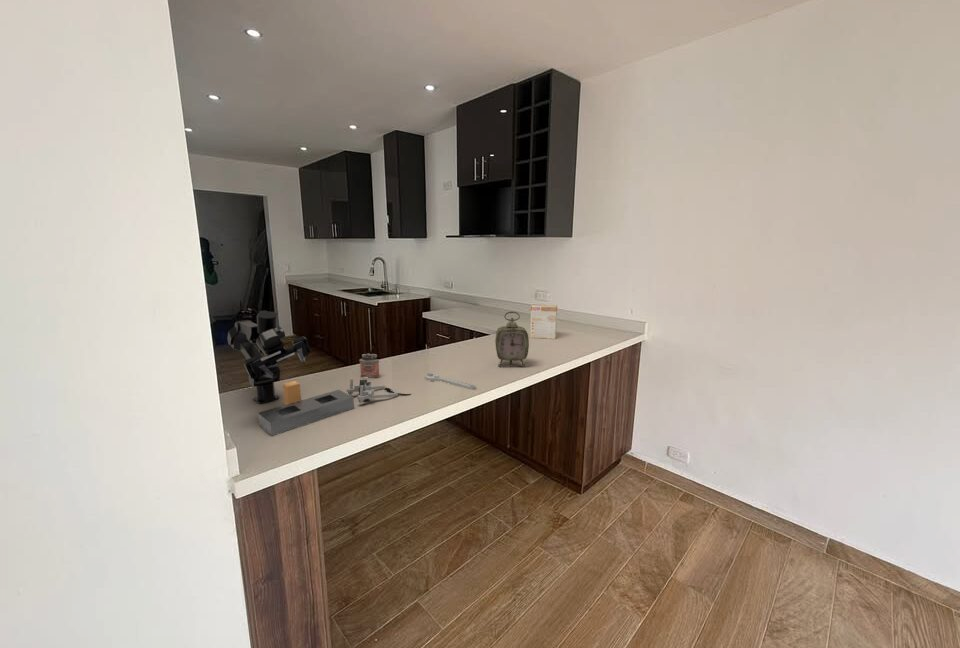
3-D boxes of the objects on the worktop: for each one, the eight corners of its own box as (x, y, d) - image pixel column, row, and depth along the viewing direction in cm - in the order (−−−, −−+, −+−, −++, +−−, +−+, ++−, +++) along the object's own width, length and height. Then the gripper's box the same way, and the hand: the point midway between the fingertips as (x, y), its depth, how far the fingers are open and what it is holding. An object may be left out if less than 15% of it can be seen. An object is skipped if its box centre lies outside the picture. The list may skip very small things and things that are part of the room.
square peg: (284, 406, 131) (282, 383, 129) (296, 402, 134) (294, 380, 132) (289, 409, 128) (287, 386, 127) (301, 405, 131) (299, 383, 129)
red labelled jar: (359, 378, 159) (357, 354, 157) (362, 375, 162) (361, 352, 160) (377, 378, 158) (376, 355, 156) (380, 376, 161) (379, 353, 159)
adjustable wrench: (477, 389, 148) (477, 385, 148) (466, 394, 143) (466, 389, 143) (432, 375, 163) (432, 371, 163) (421, 379, 158) (420, 375, 158)
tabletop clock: (495, 368, 172) (496, 313, 167) (494, 362, 181) (495, 309, 176) (528, 368, 172) (529, 313, 167) (525, 362, 181) (526, 309, 176)
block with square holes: (259, 425, 117) (257, 412, 116) (339, 400, 136) (338, 389, 135) (271, 435, 110) (270, 422, 109) (354, 408, 129) (353, 397, 128)
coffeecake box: (556, 336, 232) (557, 304, 229) (555, 339, 226) (556, 306, 222) (531, 335, 237) (532, 303, 233) (529, 337, 230) (530, 305, 226)
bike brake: (358, 406, 129) (411, 400, 141) (360, 386, 128) (413, 382, 141) (344, 395, 139) (394, 390, 152) (345, 376, 138) (396, 374, 151)
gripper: (229, 338, 115) (246, 363, 106) (291, 314, 126) (312, 335, 116) (243, 366, 122) (260, 392, 112) (301, 341, 132) (321, 363, 123)
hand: (289, 369), depth 116 cm, fingers open, 9 cm apart
